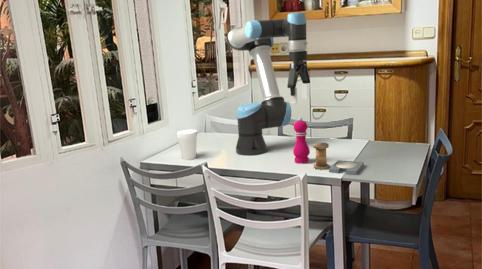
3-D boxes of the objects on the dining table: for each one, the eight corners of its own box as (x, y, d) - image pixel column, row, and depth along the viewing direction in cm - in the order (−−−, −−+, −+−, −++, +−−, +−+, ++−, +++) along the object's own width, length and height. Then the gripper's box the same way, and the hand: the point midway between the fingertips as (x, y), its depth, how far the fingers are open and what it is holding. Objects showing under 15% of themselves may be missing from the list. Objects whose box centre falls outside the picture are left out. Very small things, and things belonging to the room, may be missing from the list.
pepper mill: (311, 159, 207) (310, 115, 202) (308, 164, 200) (306, 118, 196) (295, 159, 209) (293, 115, 205) (291, 163, 203) (290, 118, 198)
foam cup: (175, 160, 220) (173, 133, 217) (185, 155, 228) (182, 129, 226) (193, 161, 216) (191, 134, 214) (202, 155, 225) (200, 129, 222)
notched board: (328, 172, 187) (328, 168, 187) (338, 163, 198) (338, 159, 198) (355, 174, 182) (355, 170, 182) (363, 165, 193) (363, 161, 193)
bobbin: (311, 169, 193) (310, 145, 191) (316, 164, 199) (315, 142, 196) (326, 170, 190) (325, 146, 188) (331, 166, 196) (330, 143, 193)
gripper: (295, 52, 182) (297, 105, 186) (316, 48, 203) (317, 96, 207) (277, 53, 185) (280, 105, 190) (300, 49, 206) (301, 96, 211)
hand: (299, 100), depth 199 cm, fingers open, 13 cm apart
